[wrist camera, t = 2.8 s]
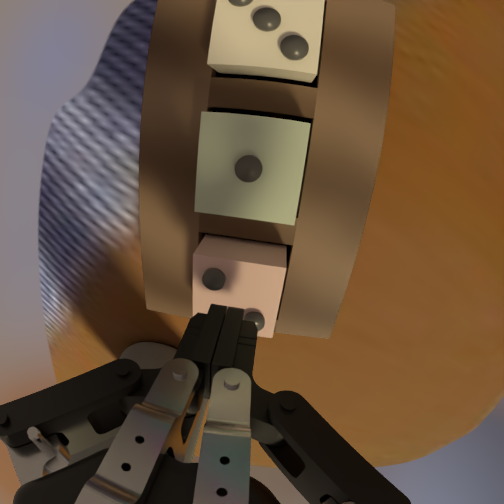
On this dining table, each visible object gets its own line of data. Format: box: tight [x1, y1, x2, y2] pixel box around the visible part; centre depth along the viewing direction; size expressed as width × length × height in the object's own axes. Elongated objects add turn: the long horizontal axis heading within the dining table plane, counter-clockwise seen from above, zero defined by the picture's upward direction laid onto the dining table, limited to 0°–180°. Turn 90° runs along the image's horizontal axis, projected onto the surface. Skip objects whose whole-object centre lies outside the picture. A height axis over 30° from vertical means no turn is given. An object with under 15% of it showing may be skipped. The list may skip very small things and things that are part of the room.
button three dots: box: [207, 0, 325, 83], centre depth 10 cm, size 4×4×3 cm
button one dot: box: [194, 112, 311, 225], centre depth 12 cm, size 4×4×3 cm
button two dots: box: [193, 234, 286, 338], centre depth 15 cm, size 4×4×3 cm
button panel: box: [139, 0, 395, 339], centre depth 15 cm, size 20×12×4 cm, turn 173°
